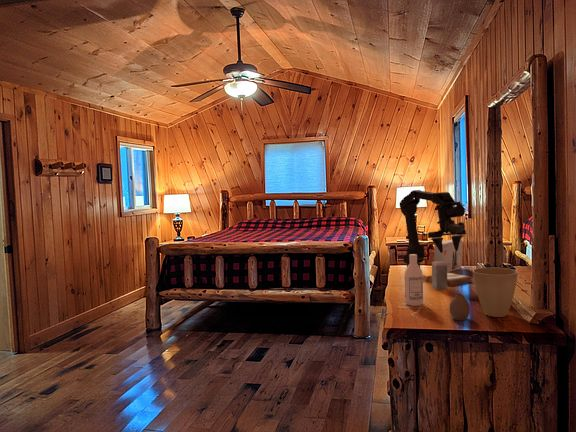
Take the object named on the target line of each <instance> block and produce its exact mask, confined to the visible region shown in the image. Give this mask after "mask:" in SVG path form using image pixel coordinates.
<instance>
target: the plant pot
mask: <svg viewBox="0 0 576 432" xmlns="http://www.w3.org/2000/svg"><path fill="white" fill-rule="evenodd" d="M518 274H519V272H518V270H516V269H513V268H512V269H511V268H507V267H479V268H474V269H473V270H472V275H473V280H474V286H475V290H476V294H477V297H478V300H479V303H480V306H481V308H482V311H483V313H484V315H485V316H487V315H488V316H487V317H491V316H492V317H491V318H504V317H506V315H507V316H508V313H509V311H510V308H511V305H512V303H513V300H514V295H515V292H516V291H515V290H516V288H517V281H518Z"/></svg>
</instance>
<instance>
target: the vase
mask: <svg viewBox="0 0 576 432" xmlns="http://www.w3.org/2000/svg"><path fill="white" fill-rule="evenodd" d="M470 305H471V304H470V302H469V301H468V299H466V298H465V296H464V293H463V294H462V293H456V294H455V296H454V297H453V299H452V300H451V301H450V304H449V313H450V316H451V317H452V319H454V320H455V321H466V320H467V319H468V318H469V317H470V314H471V306H470Z"/></svg>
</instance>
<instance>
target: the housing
mask: <svg viewBox="0 0 576 432" xmlns="http://www.w3.org/2000/svg"><path fill="white" fill-rule="evenodd" d="M447 273H448V272H447V263H446V262H444V261H434V260H433V261H431V276H432V282H431V287H432V289H434V290H435V291H444V290H445V291H446V290H448V286H447Z"/></svg>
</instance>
